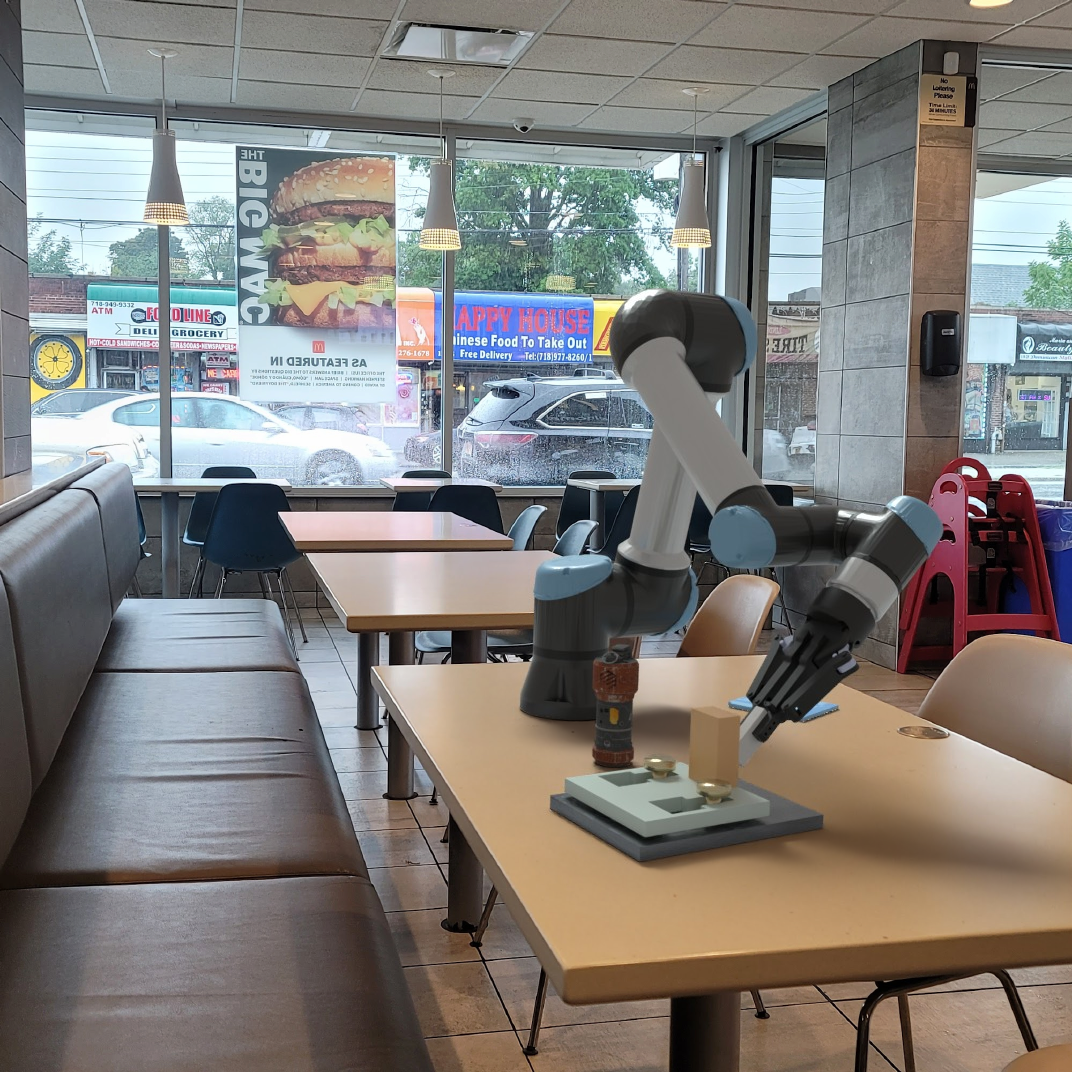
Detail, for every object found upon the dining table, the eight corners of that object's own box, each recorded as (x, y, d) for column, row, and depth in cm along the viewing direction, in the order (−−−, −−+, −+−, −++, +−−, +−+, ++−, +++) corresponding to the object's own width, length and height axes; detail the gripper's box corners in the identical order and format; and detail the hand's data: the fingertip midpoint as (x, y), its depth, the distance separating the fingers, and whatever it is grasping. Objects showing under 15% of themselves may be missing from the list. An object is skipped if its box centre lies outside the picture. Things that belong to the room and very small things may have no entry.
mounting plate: (550, 808, 130) (551, 762, 129) (720, 782, 141) (722, 740, 141) (639, 861, 114) (641, 809, 114) (822, 828, 126) (825, 780, 125)
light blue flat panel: (725, 709, 182) (725, 701, 182) (762, 698, 191) (762, 690, 191) (802, 725, 173) (803, 717, 173) (838, 712, 182) (838, 704, 182)
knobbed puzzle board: (564, 791, 129) (567, 707, 128) (680, 775, 137) (683, 695, 136) (644, 837, 115) (648, 743, 114) (769, 815, 123) (773, 727, 122)
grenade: (646, 757, 152) (650, 644, 150) (625, 772, 145) (629, 654, 143) (604, 751, 154) (608, 640, 153) (582, 765, 147) (586, 649, 146)
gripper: (907, 634, 133) (788, 794, 126) (827, 617, 144) (715, 763, 137) (875, 591, 130) (752, 752, 123) (797, 577, 141) (680, 724, 134)
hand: (733, 758), depth 130 cm, fingers closed
